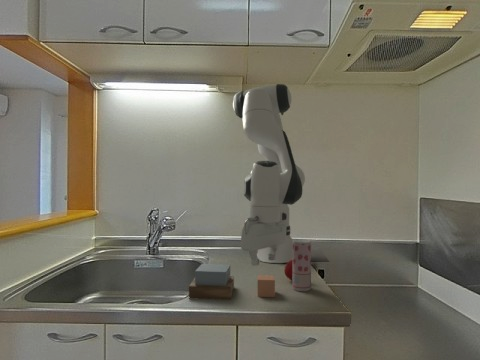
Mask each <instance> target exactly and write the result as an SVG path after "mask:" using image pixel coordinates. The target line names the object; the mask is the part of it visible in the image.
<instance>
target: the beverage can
mask: <svg viewBox="0 0 480 360" xmlns="http://www.w3.org/2000/svg"><path fill="white" fill-rule="evenodd" d="M293 240H294V241H293V272H292V281H291V283H292V285H291V287H292V289H293V290H294V291H298V292H309V291H310V290H311V289H312V275H311V274H312V244H311V240H308V239H304V238H303V239H302V238H301V239H293Z"/></svg>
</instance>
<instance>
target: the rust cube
mask: <svg viewBox="0 0 480 360" xmlns="http://www.w3.org/2000/svg"><path fill="white" fill-rule="evenodd" d="M275 286H276V277H275V275H266V274H265V275H263V274H262V275H261V274H260V275H259V274H258V275H257V298H258V297H260V298H262V297H264V298H265V297H266V298H275V296H276V290H275V289H276V287H275Z"/></svg>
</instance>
